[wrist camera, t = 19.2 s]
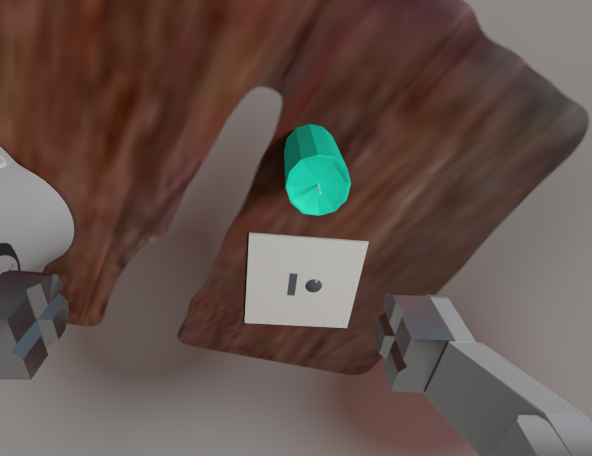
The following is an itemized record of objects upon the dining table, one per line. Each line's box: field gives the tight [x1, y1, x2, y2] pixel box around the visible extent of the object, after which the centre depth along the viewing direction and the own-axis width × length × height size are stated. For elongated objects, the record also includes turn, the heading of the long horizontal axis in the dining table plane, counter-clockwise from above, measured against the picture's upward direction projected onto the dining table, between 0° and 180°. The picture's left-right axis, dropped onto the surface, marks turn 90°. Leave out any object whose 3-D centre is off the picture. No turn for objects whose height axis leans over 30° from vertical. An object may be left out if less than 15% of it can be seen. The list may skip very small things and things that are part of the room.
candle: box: [284, 124, 351, 216], centre depth 36 cm, size 6×6×12 cm
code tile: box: [245, 233, 369, 328], centre depth 51 cm, size 16×16×1 cm
